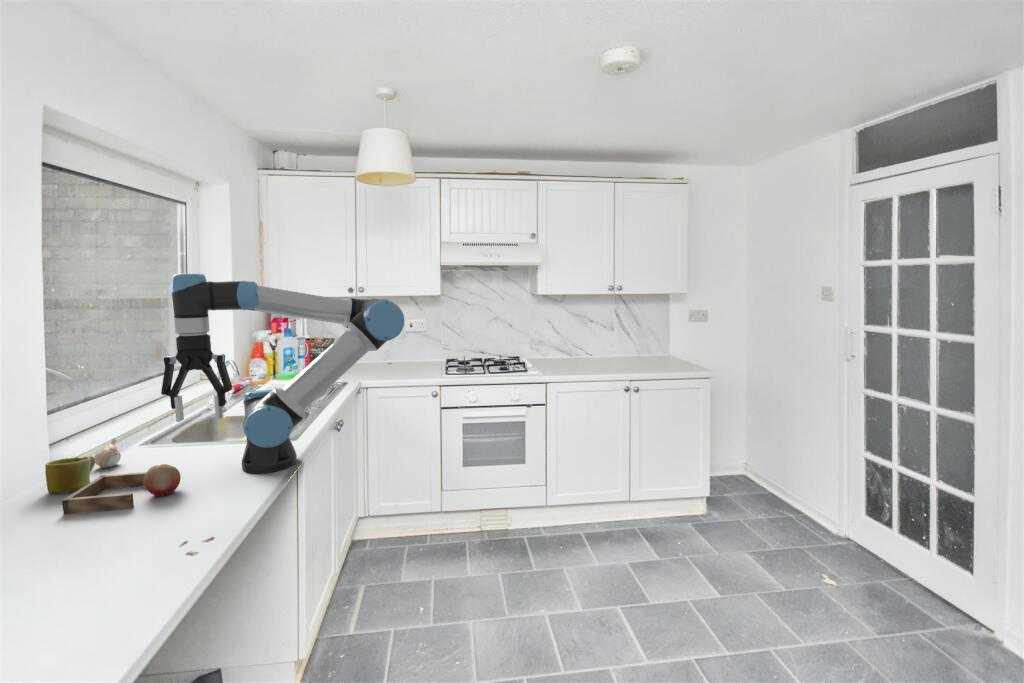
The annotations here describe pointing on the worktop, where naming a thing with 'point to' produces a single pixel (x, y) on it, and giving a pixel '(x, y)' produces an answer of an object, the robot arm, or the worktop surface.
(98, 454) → the garlic bulb
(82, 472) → the mug
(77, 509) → the wooden frame
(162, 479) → the fruit
